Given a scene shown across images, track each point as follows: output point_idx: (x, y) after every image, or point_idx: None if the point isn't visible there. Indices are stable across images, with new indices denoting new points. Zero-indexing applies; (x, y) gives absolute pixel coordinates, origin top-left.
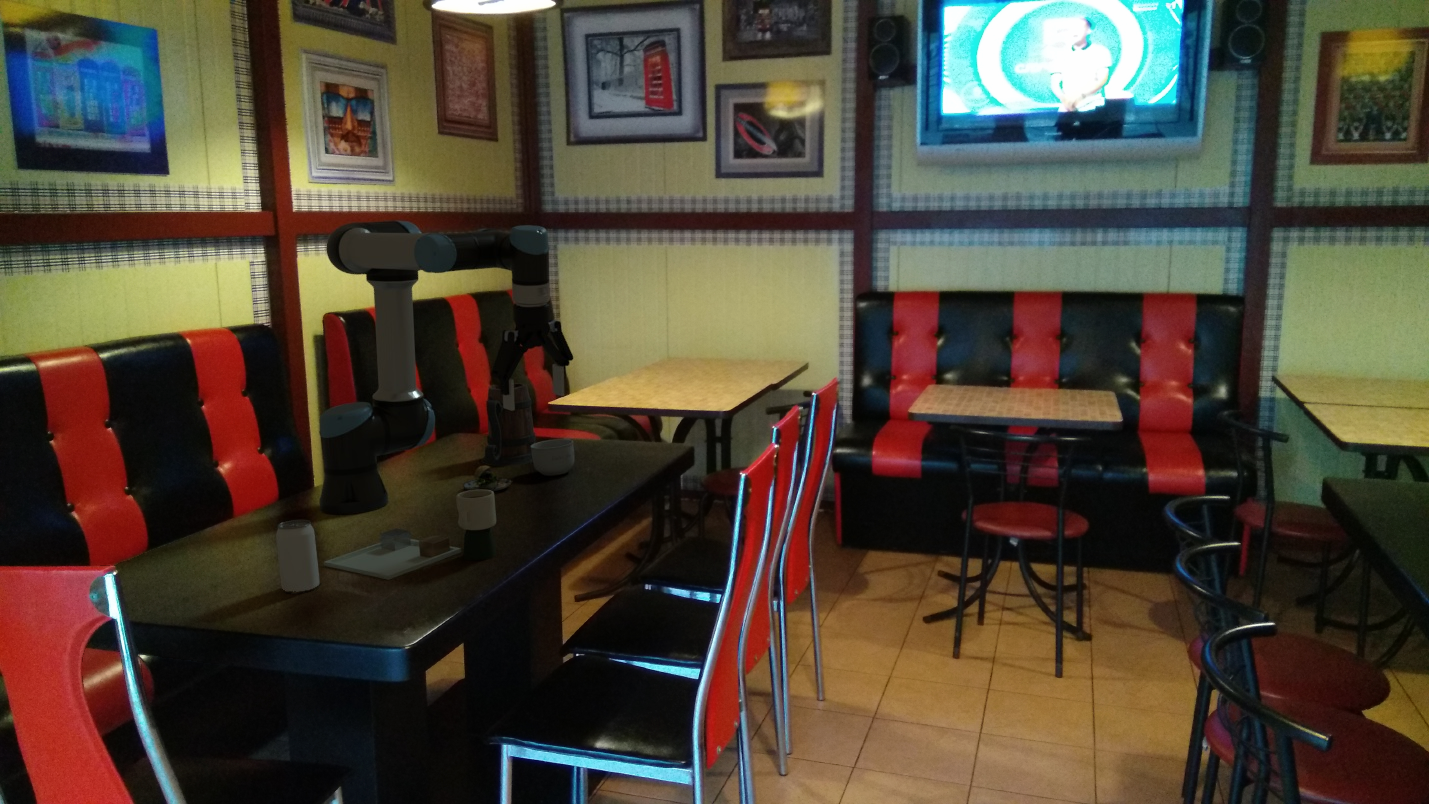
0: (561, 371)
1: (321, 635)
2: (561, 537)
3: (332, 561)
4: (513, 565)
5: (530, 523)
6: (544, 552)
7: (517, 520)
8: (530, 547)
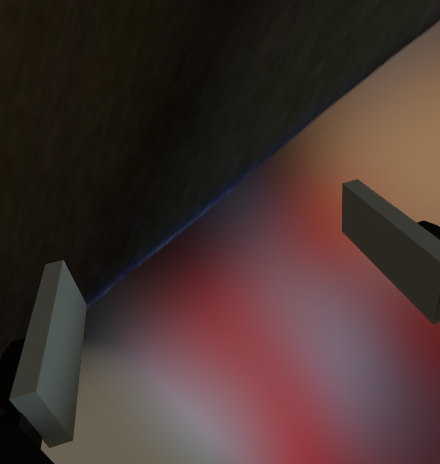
0: (417, 303)
1: None
2: (137, 257)
3: None
4: None
5: (128, 140)
6: None
7: (114, 98)
8: None
